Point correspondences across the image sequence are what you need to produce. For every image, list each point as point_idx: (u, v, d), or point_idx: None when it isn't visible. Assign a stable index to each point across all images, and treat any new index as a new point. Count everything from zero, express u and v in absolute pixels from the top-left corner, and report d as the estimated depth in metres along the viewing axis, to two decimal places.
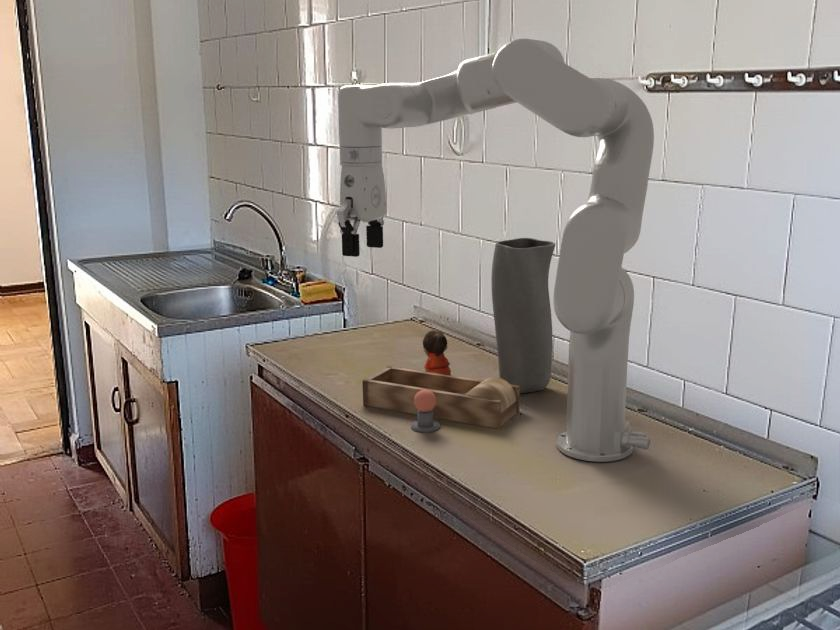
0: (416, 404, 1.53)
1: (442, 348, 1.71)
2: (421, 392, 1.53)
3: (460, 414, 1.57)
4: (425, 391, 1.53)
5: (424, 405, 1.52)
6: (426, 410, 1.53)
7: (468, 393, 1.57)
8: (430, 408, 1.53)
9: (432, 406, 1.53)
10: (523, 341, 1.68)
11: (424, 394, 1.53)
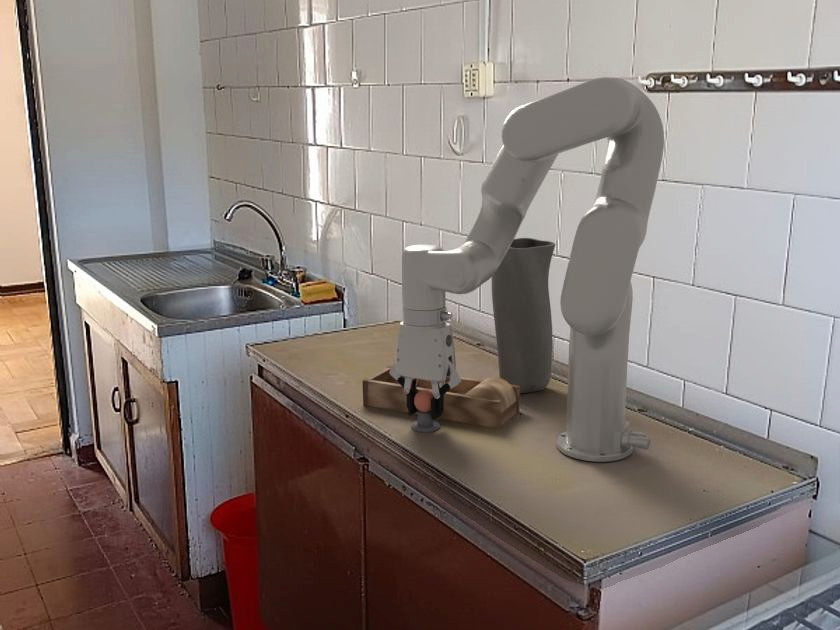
0: (416, 404, 1.53)
1: None
2: (421, 392, 1.53)
3: (460, 414, 1.57)
4: (425, 391, 1.53)
5: (424, 405, 1.52)
6: (426, 410, 1.53)
7: (468, 393, 1.57)
8: (430, 408, 1.53)
9: None
10: (523, 341, 1.68)
11: (424, 394, 1.53)
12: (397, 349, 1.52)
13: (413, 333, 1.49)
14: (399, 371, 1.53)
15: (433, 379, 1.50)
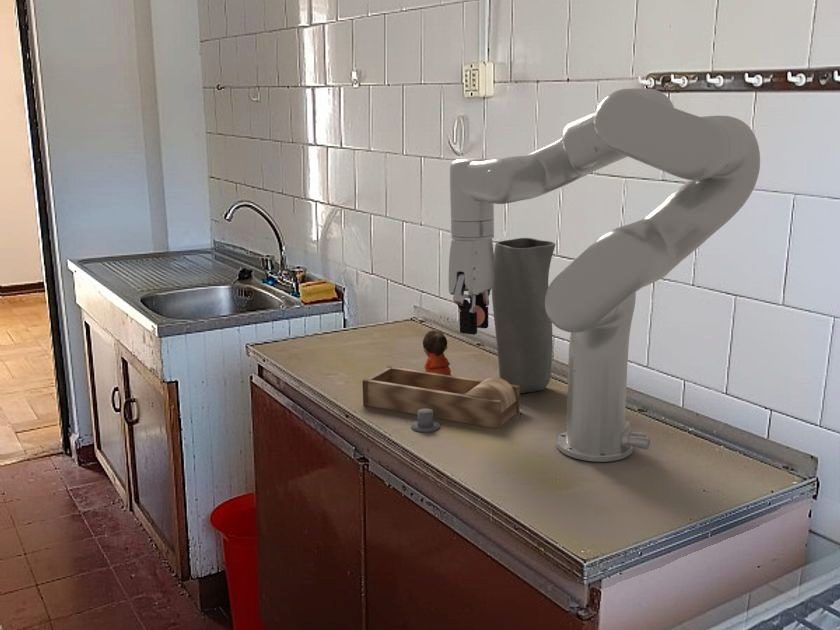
0: (480, 319, 1.54)
1: (442, 348, 1.71)
2: (477, 307, 1.54)
3: (460, 414, 1.57)
4: (475, 305, 1.55)
5: (484, 316, 1.55)
6: None
7: (468, 393, 1.57)
8: None
9: None
10: (523, 341, 1.68)
11: (480, 307, 1.55)
12: (472, 268, 1.48)
13: (483, 245, 1.50)
14: (474, 291, 1.49)
15: (490, 287, 1.55)
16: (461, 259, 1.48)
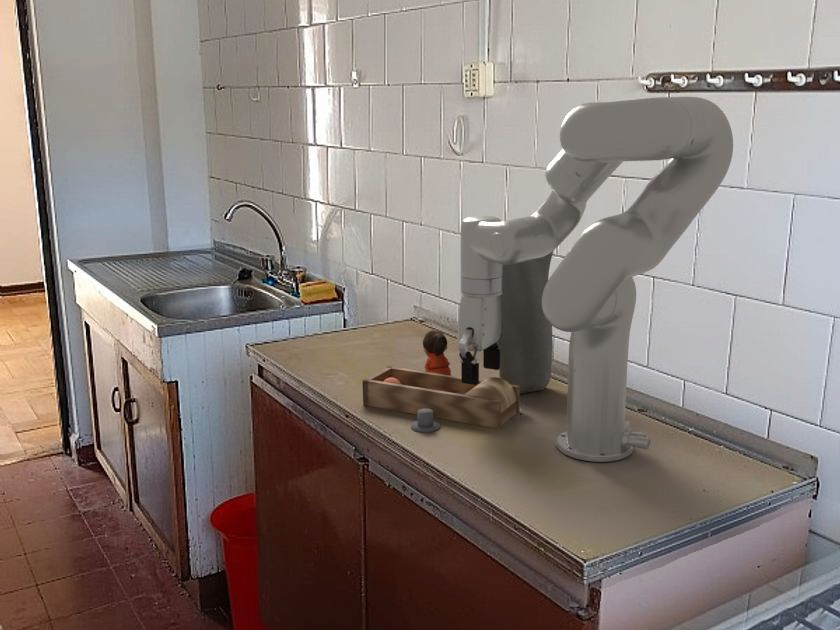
0: None
1: (442, 348, 1.71)
2: None
3: (460, 414, 1.57)
4: None
5: None
6: None
7: (468, 393, 1.57)
8: None
9: None
10: (523, 341, 1.68)
11: None
12: (482, 324, 1.52)
13: (492, 301, 1.54)
14: (482, 346, 1.53)
15: (497, 340, 1.59)
16: (471, 315, 1.52)
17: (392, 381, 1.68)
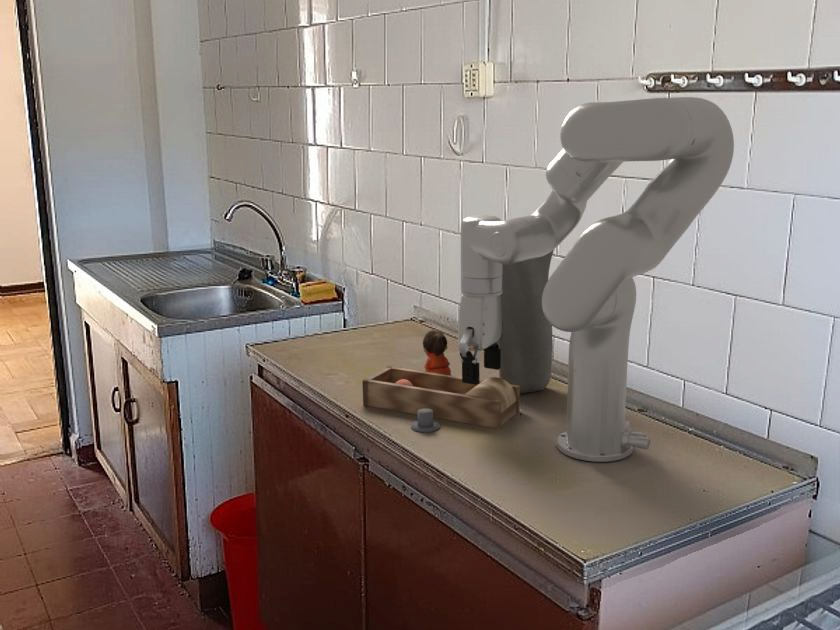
0: None
1: (442, 348, 1.71)
2: None
3: (460, 414, 1.57)
4: None
5: None
6: None
7: (468, 393, 1.57)
8: None
9: None
10: (523, 341, 1.68)
11: None
12: (482, 324, 1.52)
13: (493, 300, 1.54)
14: (483, 345, 1.53)
15: (497, 340, 1.59)
16: (471, 315, 1.52)
17: None
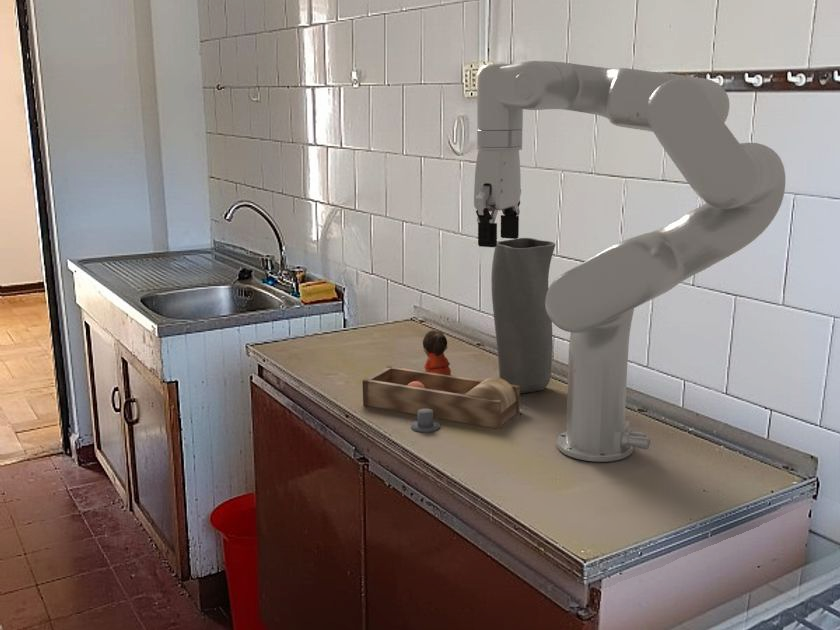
0: (413, 383, 1.65)
1: (442, 348, 1.71)
2: None
3: (460, 414, 1.57)
4: None
5: (417, 381, 1.67)
6: (422, 384, 1.67)
7: (468, 393, 1.57)
8: None
9: None
10: (523, 341, 1.68)
11: None
12: (500, 180, 1.41)
13: (511, 156, 1.43)
14: (501, 204, 1.42)
15: (516, 203, 1.48)
16: (488, 170, 1.41)
17: None
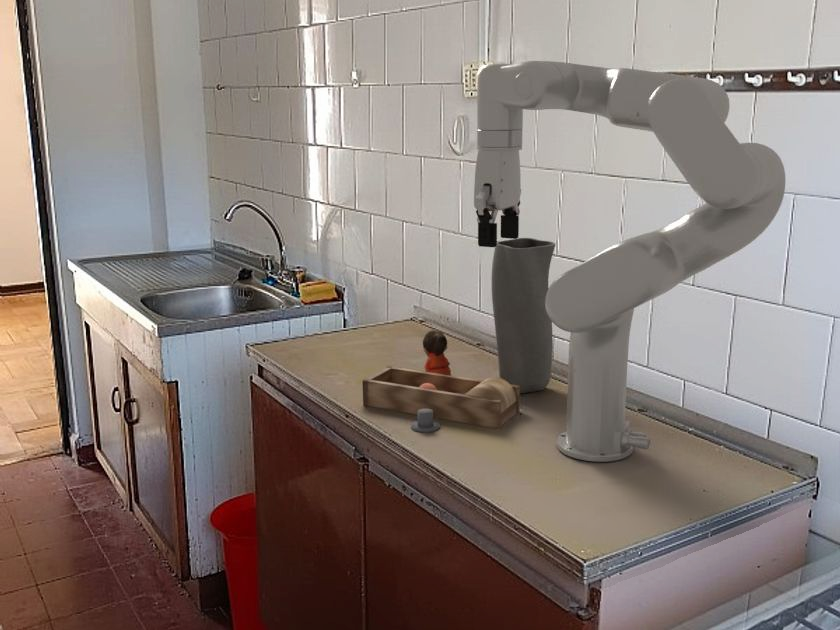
0: None
1: (442, 348, 1.71)
2: (426, 384, 1.65)
3: (460, 414, 1.57)
4: (425, 383, 1.65)
5: None
6: None
7: (468, 393, 1.57)
8: None
9: None
10: (523, 341, 1.68)
11: None
12: (500, 180, 1.41)
13: (511, 156, 1.43)
14: (501, 204, 1.42)
15: (516, 203, 1.48)
16: (488, 170, 1.41)
17: None
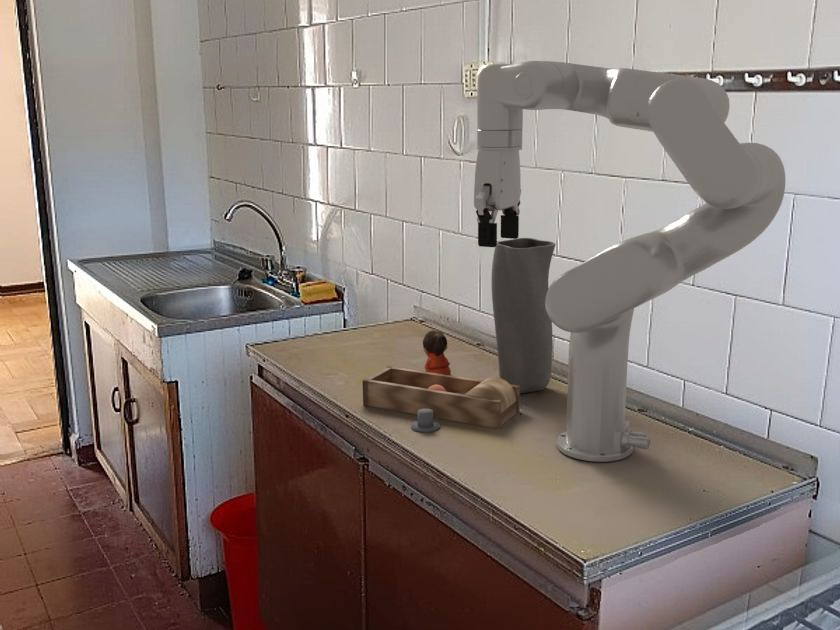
0: None
1: (442, 348, 1.71)
2: None
3: (460, 414, 1.57)
4: (442, 387, 1.64)
5: None
6: None
7: (468, 393, 1.57)
8: None
9: None
10: (523, 341, 1.68)
11: None
12: (500, 180, 1.41)
13: (511, 156, 1.43)
14: (501, 204, 1.42)
15: (516, 203, 1.48)
16: (488, 170, 1.41)
17: None
